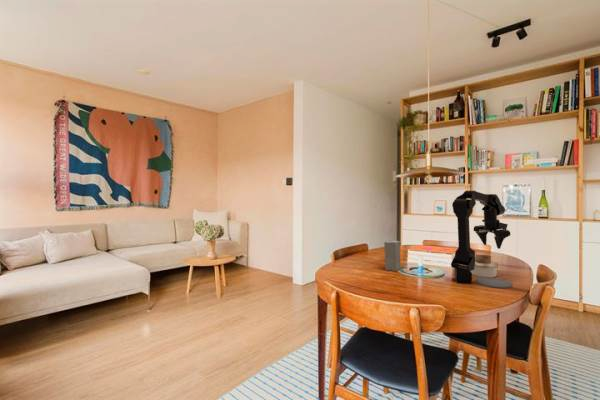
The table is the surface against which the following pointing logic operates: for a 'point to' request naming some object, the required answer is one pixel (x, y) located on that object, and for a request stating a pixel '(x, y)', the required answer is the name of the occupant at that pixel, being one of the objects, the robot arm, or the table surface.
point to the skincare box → (392, 255)
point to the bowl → (484, 271)
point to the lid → (485, 261)
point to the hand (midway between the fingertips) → (491, 246)
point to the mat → (493, 282)
